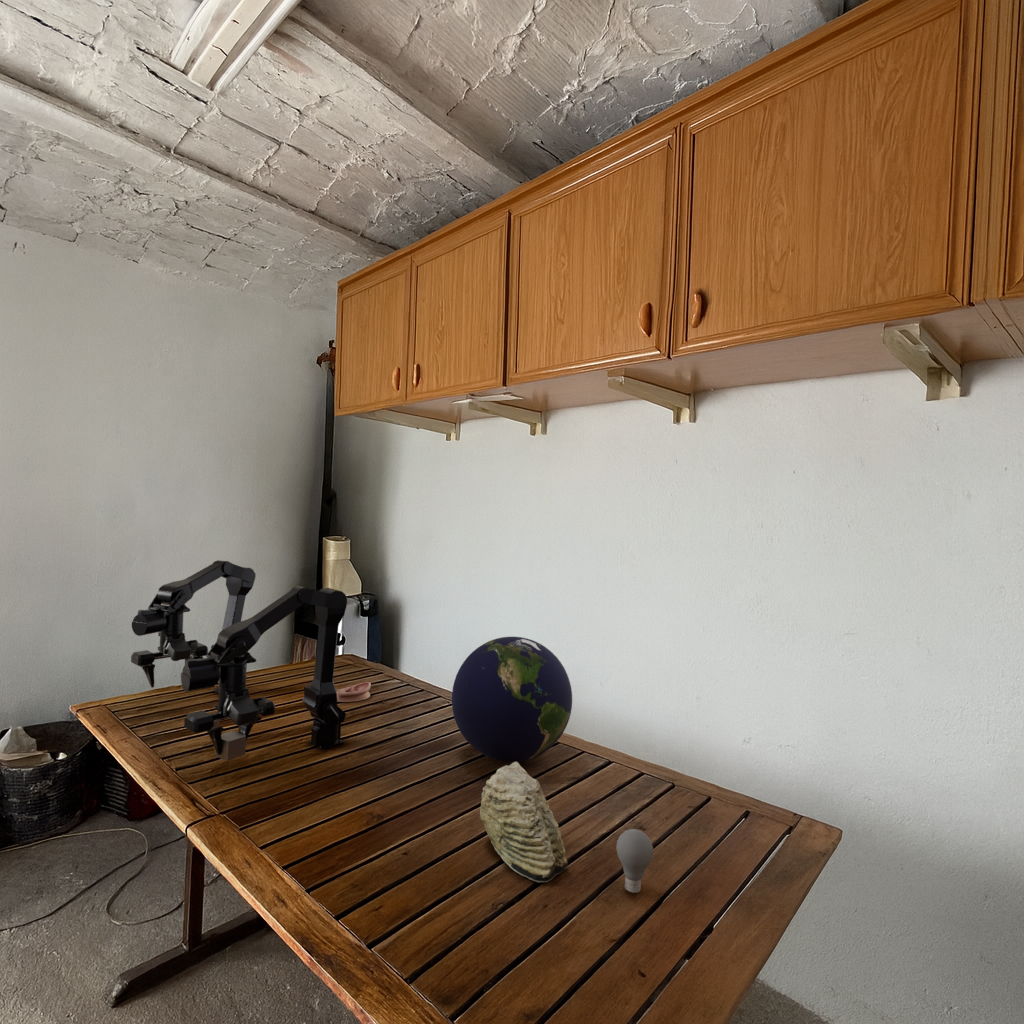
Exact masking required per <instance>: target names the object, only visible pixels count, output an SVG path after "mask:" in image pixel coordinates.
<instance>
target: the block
mask: <svg viewBox="0 0 1024 1024" xmlns="http://www.w3.org/2000/svg"><path fill="white" fill-rule="evenodd" d="M221 743H222V749H221V755H218V754H217V752H216V750H215V749H214V751H213V753H214V754H213V755H214V757H215V758H219V759H221V760H224V761H227V762H229V761H232V760H235V759H237V758H240V757H243V756H245V755H246V747H247V746H246V745H247V740H246V735H244V734H241V733H239V731H235V730H231V731H228V732H225V733H224V732H223V733H221Z"/></svg>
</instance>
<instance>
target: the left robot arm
mask: <svg viewBox="0 0 1024 1024" xmlns="http://www.w3.org/2000/svg"><path fill="white" fill-rule="evenodd" d="M219 578H225V587H226V590H227V592H228V598H227V602H226V608H225V613H224V617H223V623H222V629H221V631H222V630H223V629H225V628H227V627H229V626H231V625H233V624H235V623H238V622H241V621H242V618H243V612H244V608H245V601H246V598H247V595H248V594H249V593H250V591H251V590H252V589H253V587H254V584H255V581H256V572H255V571H254V569H253V568H252V567H245V566H240V565H237V564H234V563H232V562H230V561H229V560H219V559H217V560H215V561H213V562H212V563H211V564H209V565H208V566H206V567H204V568H202V569H200V570H199V571H196V572H195V573H194V574H192V575H190V576H188V577H186V578H184V579H180V580H176V581H171V582H168V583H166V584H162V585H160V587H159V588H158V591H157V593H156V595H155V596H154V598H153V599H152V601H151V602H150V604H149V605H148V607H147V609H138V610H137V615H135V616H134V617H133V619H132V621H131V629H132V632H133V633H134V634H135V635H136V636H138V637H142V636H146V635H151V634H157V633H158V634H157V637H159V646H157V652H156V651H155V652H152V651H150V650H140V651H134V652H133V653H132V654H131V655H130V662H131V663H132V664H134V665H136V666H137V667H140V668H141V669H142V670H143V672H144V674H145V677H146V678H147V679H146V680H147V681H148V683H149V686H150V688H154V687H155V667H156V664H154V663H155V660H162V659H169V658H170V660H171V661H173V662H179V661H181V660H182V661H183V660H184V662H185V661H186V660H188V659H201V658H204V657H206V655H207V654H208V652H209V647H208V646H207V645H206V644H204V643H200V642H199V641H198V640H197V639H190V640H186V635H185V634H186V633H185V632H184V613H189V612H191V608H189V607H188V606H187V605H186V604H187V603H188V602H189V601H190V600H192V598H193V597H194V595H195V593H196V592H198V591H199V590H201V589H203V588H204V587H206V586H208V585H210V584H211V583H213V582H215V581H216V580H218V579H219ZM213 646H214V644H212V645H211V646H210V649H211V648H212V647H213ZM224 653H225V652H222V653H221V654H224ZM213 692H214V693H216V694H219V693H218V692H216V689H214V690H213Z"/></svg>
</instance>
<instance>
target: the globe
mask: <svg viewBox="0 0 1024 1024" xmlns="http://www.w3.org/2000/svg"><path fill="white" fill-rule="evenodd" d="M568 675H569V674H568V673H567V671H566V669H565V667H564V665H563V663H562V662H561V661H560V659H559V658H558V657H557V656H556V655H555V654H554V652H553V651H551V650H550V649H549V648H547V647H546V646H545V645H543V644H542V643H539V642H538V641H536V640H533V639H531V638H527V637H522V636H502V637H497V638H494V639H491V640H488V641H487V642H484V643H483V644H481V645H479V646H478V647H476V648H475V649H474V650H473V651H471V653H470V654H469V655H468V656H467V657H466V658H465V660H464V661H463V662H462V664H461V665H460V667H459V669H458V671H457V672H456V676H455V679H454V681H453V686H452V691H451V707H452V712H453V714H452V715H453V717H454V721H455V723H456V726H457V728H458V730H459V732H460V734H461V735H462V737H463V738H464V740H465V741H466V742H467V743H468V744H469V746H470V747H472V748H473V749H474V750H476V751H477V752H478V753H480V754H481V755H483V756H484V757H487V758H489V759H492V760H495V761H498V762H504V763H514V762H518V763H522V762H526V761H530V760H532V759H535V758H537V757H540V756H541V755H543V754H544V753H546V752H548V750H550V749H551V748H552V747H554V745H556V743H557V742H558V741H559V739H560V738H561V737H562V736H563V734H564V732H565V730H566V728H567V726H568V724H569V721H570V718H571V714H572V709H573V691H572V684H571V681H570V678H569V676H568Z"/></svg>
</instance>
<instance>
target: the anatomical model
mask: <svg viewBox="0 0 1024 1024" xmlns="http://www.w3.org/2000/svg"><path fill="white" fill-rule="evenodd" d="M371 686H372V684H371V681H365V682H364V681H363V682H361V683H357V684H353V685H350V686H347V687H344V688H339V689H337V690H336V692H337V703H350V702H359V701H364V700H367V699H369V698H370V697H371V693H370V691H369V690H370V689H371V688H372V687H371Z"/></svg>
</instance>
